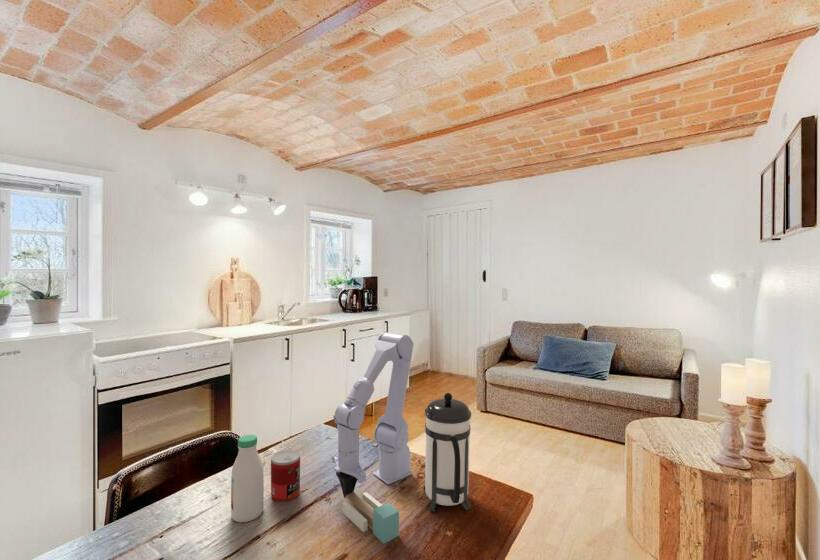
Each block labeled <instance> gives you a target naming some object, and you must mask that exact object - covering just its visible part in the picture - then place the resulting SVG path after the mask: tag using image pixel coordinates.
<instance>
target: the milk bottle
mask: <svg viewBox="0 0 820 560" xmlns="http://www.w3.org/2000/svg"><path fill="white" fill-rule="evenodd" d="M257 446H258V436H257V435H256V434H246V435H242V436H240V437H239V438H238V440H237V449H238V452H237V456H236V458H235V461H234V463H233V465H232V469H231V478H230V480H231V483H230V487H231V488H230V491H231V492H230V493H231V494H230V498H231V499H230V506H231V507H230V509H231V511H230V513H231V518H232V520H233V521H235V522H237V523H247V522H251V521H254V520H256V519H257V518H259V517H260V516H261V515H262V513H263V511H264V490H265V489H264V464H263V461H262V459H261V456H260V455H259V453H258V450H257Z"/></svg>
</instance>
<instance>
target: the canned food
mask: <svg viewBox="0 0 820 560" xmlns="http://www.w3.org/2000/svg"><path fill="white" fill-rule="evenodd" d="M270 458H271V459H270V496H271V498H272V499H273V500H274V501H276V502H279V503H281V502H282V503H284V502H290V501H292V500H294V499H296V498H297V497H298V495H299V494H300V490H301V455H300V452H299V451H297V450H293V449H284V450H280V451H277V452H274V453H273V454H272V456H271V457H270Z"/></svg>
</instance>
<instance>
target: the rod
mask: <svg viewBox="0 0 820 560" xmlns="http://www.w3.org/2000/svg"><path fill="white" fill-rule="evenodd" d="M345 501H347V502H348V503H349V504H350V505H351V506H352V507H353V508H354V509H356V510H357V511H358V512H359V513H360V514H361V515H362V516H363V517H365V518H366V519H367V527H369V528H370V529H371V530H372V531H373V508H372V507H371V506H370V505H369V504H368V503H366V502H365V501H364V500H363V499H362V497H361V496H359V494H357V493H356V492H355V491H354V492H352V493H350V494H348V495H346V499H345V500H344V502H345Z"/></svg>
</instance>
